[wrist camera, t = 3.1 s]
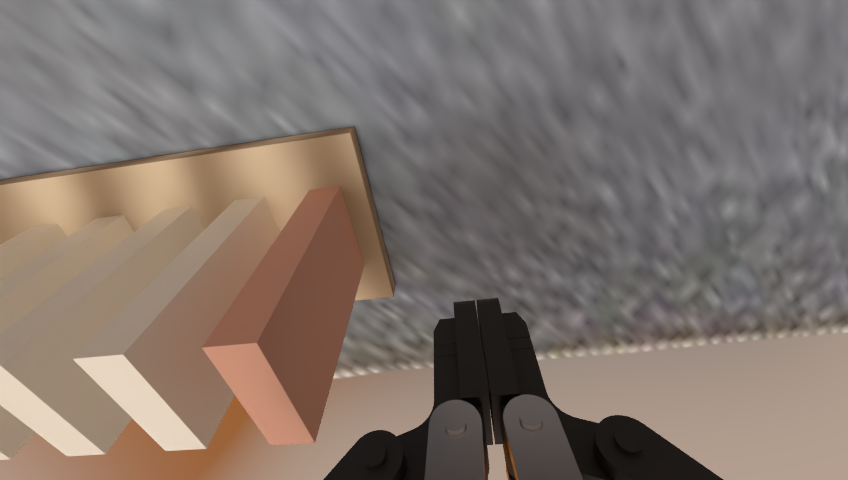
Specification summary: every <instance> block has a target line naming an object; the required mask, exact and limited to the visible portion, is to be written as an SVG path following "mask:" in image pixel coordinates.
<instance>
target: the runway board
mask: <svg viewBox="0 0 848 480" xmlns="http://www.w3.org/2000/svg"><path fill="white" fill-rule="evenodd" d="M337 186H340V188H341V191H342V194H343V198H344V201H345V204H346V208H347V211H348V214H349V217H350V221H351V224H352V227H353V231H354V234H355V237H356V241H357V244H358V247H359V250H360V254H361V257H362V260H363V264H364V268H363V272H362V276H361V279H360V283H359V286H358V290H357V294H356V297H355V300H366V299H376V298H386V297H394V290H395V284H394V280H393V276H392V272H391V268H390V264H389V260H388V256H387V252H386V248H385V245H384V241H383V237H382V233H381V229H380V225H379V221H378V217H377V213H376V209H375V205H374V202H373V198H372V194H371V190H370V186H369V182H368V178H367V174H366V170H365V166H364V162H363V159H362V155H361V151H360V147H359V143H358V139H357V135H356V131H355V127H349V128H342V129H335V130H329V131H322V132H315V133H309V134H302V135H296V136H289V137H282V138H276V139H269V140H262V141H256V142H249V143H243V144H236V145H229V146H223V147H216V148H209V149H203V150H196V151H190V152H183V153H176V154H170V155H163V156H156V157H150V158H143V159H137V160H130V161H123V162H117V163H110V164H104V165H97V166H90V167H84V168H77V169H70V170H64V171H57V172H51V173H44V174H37V175H31V176H24V177H17V178H11V179H4V180H0V244H2V243H4V242H6V241H7V240H9V239H11V238H13V237H15V236H17V235H18V234H20V233H22V232H24V231H26V230H27V229H29V228H31V227H36V226H44V225H51V224H58V225H59V227H60V228H61V229H62V230H63V232H64V233H65V234H66V235H67V236H70V235H71V234H73V233H74V232H76V231H77V230H79V229H81V228H82V227H84V226H85V225H87V224H89V223H90V222H92V221H93V220H95V219H96V218H104V217H111V216H119V215H124V217H125V218H126V220H127V221H128V223H129V224H130V226H131V227H132V229H133V230H134V232H135V231H136V230H138V229H139V228H140V227H142V226H143V225H144V224H146V223H147V222H148V221H150V220H151V219H152V218H154V217H155V216H156V215H157V214H159V213H160V212H161V211H163V210H164V209H171V208H179V207H186V206H193V208H194V210H195V212H196V214H197V215H198V217H199V219H200V221H201V223H202V224H203V226H204V228H205V229H206V228H207V227H208V226H209V225H210V224H211V223H212V222H213V221H214V220H215V219H216V218H217V217H218V216H219V215H220V214H221V213H222V212H223V211H224V210H225V209H226V208H227V207H228V206H229V205H230V204H231V203H232V202H233V201H235V200H239V199H246V198H254V197H261V196H264V197H265V199H266V201H267V204H268V206H269V208H270V211H271V213H272V215H273V217H274V220H275V222H276V224H277V227H278V229H279V231H280V232H281V231H282V229H283V228H284V226H285V225H286V223H287V222H288V221H289V219H290V218H291V216H292V215H293V213H294V212H295V210H296V209H297V207H298V206H299V204H300V203H301V202H302V200H303V199H304V197H305V196H306V194H307V193H308V191H309V190H314V189H322V188H329V187H337Z"/></svg>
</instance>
